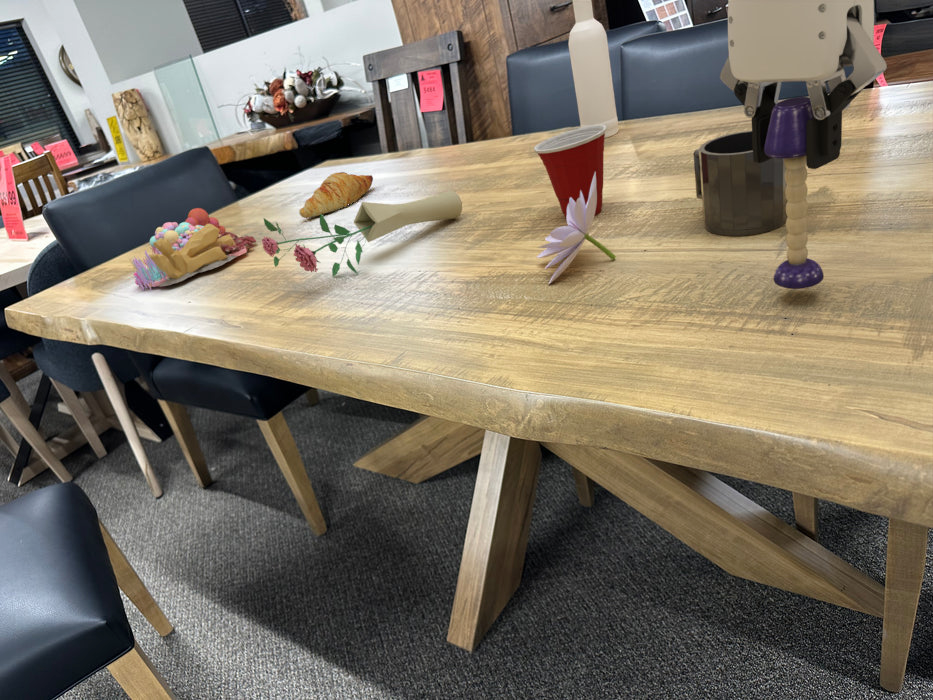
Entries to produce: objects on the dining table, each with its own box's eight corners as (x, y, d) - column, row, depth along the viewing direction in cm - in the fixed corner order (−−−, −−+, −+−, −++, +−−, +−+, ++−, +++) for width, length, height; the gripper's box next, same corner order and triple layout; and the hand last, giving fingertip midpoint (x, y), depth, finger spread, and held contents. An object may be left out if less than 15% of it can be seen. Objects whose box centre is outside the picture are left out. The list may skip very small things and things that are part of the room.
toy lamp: (831, 287, 58) (833, 99, 50) (776, 295, 59) (769, 113, 51) (816, 266, 62) (815, 88, 54) (764, 274, 63) (756, 102, 55)
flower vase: (470, 263, 112) (297, 313, 89) (424, 238, 119) (252, 279, 96) (480, 198, 106) (297, 234, 83) (430, 176, 113) (249, 204, 90)
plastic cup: (559, 203, 105) (546, 130, 99) (625, 197, 99) (615, 119, 94) (537, 229, 97) (521, 150, 91) (606, 224, 91) (594, 140, 86)
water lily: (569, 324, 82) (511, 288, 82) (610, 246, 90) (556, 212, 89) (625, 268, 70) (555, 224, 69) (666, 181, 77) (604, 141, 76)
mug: (807, 213, 78) (808, 131, 73) (748, 242, 75) (746, 158, 70) (725, 199, 89) (721, 126, 84) (671, 223, 86) (664, 149, 81)
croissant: (317, 237, 136) (316, 206, 130) (285, 216, 139) (282, 184, 133) (385, 199, 148) (387, 169, 142) (354, 181, 152) (354, 150, 146)
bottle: (575, 141, 140) (551, -11, 126) (596, 130, 144) (576, -18, 130) (604, 140, 135) (582, -19, 121) (626, 129, 139) (607, -26, 125)
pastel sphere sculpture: (275, 245, 125) (257, 200, 121) (162, 298, 112) (137, 250, 108) (222, 237, 143) (204, 197, 138) (119, 282, 130) (96, 240, 125)
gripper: (949, -130, 41) (925, 153, 49) (737, -71, 55) (747, 141, 63) (869, -104, 38) (859, 187, 47) (670, -50, 53) (690, 166, 61)
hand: (795, 158), depth 55 cm, fingers closed on toy lamp, 4 cm apart
